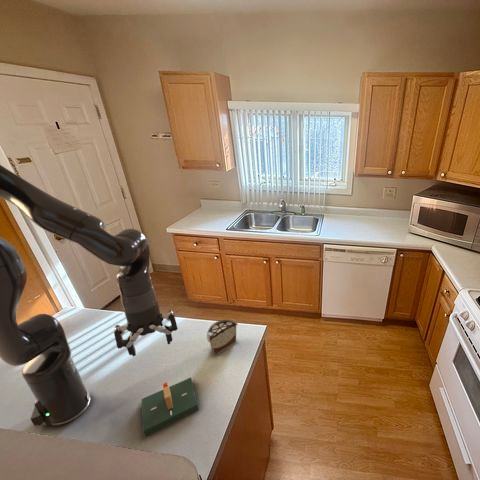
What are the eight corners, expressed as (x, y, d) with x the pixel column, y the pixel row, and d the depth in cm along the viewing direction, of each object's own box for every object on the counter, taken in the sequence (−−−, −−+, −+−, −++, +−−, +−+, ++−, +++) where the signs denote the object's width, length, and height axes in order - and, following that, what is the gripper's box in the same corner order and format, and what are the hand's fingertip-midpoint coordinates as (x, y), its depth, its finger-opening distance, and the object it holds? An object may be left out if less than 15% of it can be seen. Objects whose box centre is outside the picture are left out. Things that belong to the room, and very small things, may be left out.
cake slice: (230, 332, 109) (228, 314, 105) (239, 340, 105) (237, 321, 101) (203, 349, 100) (199, 329, 96) (211, 358, 96) (208, 338, 92)
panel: (144, 436, 71) (142, 430, 70) (143, 403, 79) (141, 398, 78) (198, 409, 79) (197, 403, 78) (191, 382, 87) (190, 377, 86)
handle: (173, 407, 76) (169, 395, 74) (167, 410, 76) (164, 398, 73) (170, 393, 80) (167, 381, 78) (165, 395, 80) (162, 383, 78)
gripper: (105, 320, 61) (121, 368, 67) (172, 302, 69) (181, 346, 75) (107, 303, 67) (122, 349, 73) (169, 288, 74) (177, 331, 81)
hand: (152, 347), depth 74 cm, fingers open, 8 cm apart
